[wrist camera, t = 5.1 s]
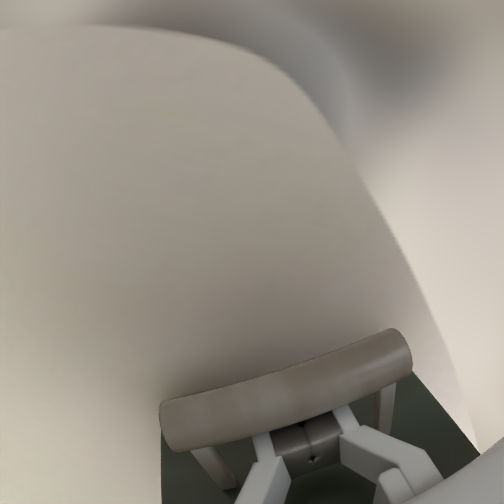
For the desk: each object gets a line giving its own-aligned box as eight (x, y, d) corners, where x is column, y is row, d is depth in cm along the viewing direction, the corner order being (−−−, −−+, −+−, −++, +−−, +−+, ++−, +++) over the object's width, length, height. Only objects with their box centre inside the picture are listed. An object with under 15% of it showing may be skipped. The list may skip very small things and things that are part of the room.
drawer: (111, 337, 11) (71, 522, 4) (387, 252, 12) (532, 363, 5) (237, 509, 19) (256, 591, 11) (378, 463, 20) (419, 536, 12)
